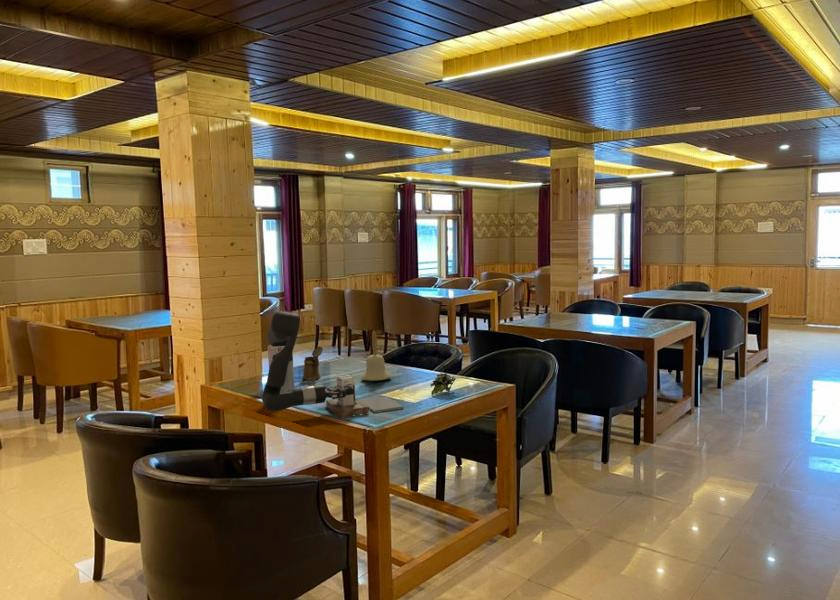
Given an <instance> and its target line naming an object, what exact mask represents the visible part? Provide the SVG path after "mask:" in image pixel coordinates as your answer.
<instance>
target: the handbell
mask: <svg viewBox="0 0 840 600" xmlns="http://www.w3.org/2000/svg"><path fill="white" fill-rule="evenodd" d="M371 346H372V347H371V348H372V353H373V354H371V355H369V356H367V358H366V359H365V360H366V362H365V364H366V369H365V371H364V372H363V373H362V375H360V378H361V379H362V380H363V381H371V382H373V381H383V380H388V379H390V378H391V377H392V375H391V373H390V372H389V371H388V370H387V369H386V367H385V359H384V357H383V355H381V354H378V353H377V352H378V338H377V332H376V331H372V335H371Z"/></svg>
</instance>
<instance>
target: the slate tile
mask: <svg viewBox="0 0 840 600" xmlns="http://www.w3.org/2000/svg"><path fill="white" fill-rule="evenodd" d="M358 400H359V401H360V402H362V403H363V404H365V405H366V406H368V410H369V409H370V410H371V412H372V411H373V412H378V413H382V411H384V412H389V411H390V410H391V411H397V410H402V408H403V409H404V405H402V404H400V403H399V402H396V401H395V400H393V399H391V398H390V397H389V396H378V397H372V398H364V399H358ZM396 409H397V410H396ZM370 410H369V411H370ZM373 412H372V413H373Z"/></svg>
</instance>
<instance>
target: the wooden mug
mask: <svg viewBox="0 0 840 600" xmlns="http://www.w3.org/2000/svg"><path fill="white" fill-rule="evenodd" d="M323 349H324V348H323V347H322V346H317V347H316V348H315V349H314V350H313V351H312V352H311V356H306V357H304V361H303V364H304V365H303V376H302V380H303V379H305V380H304V381H315V380H314V379H317V380H320V379H321V374H320V370H319V367H320V361H319V357H320V356H321V354H322V352H324V351H323ZM319 378H320V379H319Z"/></svg>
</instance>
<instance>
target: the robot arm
mask: <svg viewBox="0 0 840 600" xmlns="http://www.w3.org/2000/svg"><path fill="white" fill-rule="evenodd" d="M300 325H301V316H300V315H299V314H297V313H292V312H288V311H281V310H278V311H275V312H274V313H273V315H272V317H271V320H270V327H269V329H268V332H267V340H268V343H269V345H271V346H274V347H276V346H285V347H284V348H283V349H282V350H281V351H280V352H279V353H276V354H274V355H273V357H272V360H273V361H272V362H271V364H270V367H269V366H268V374H267V378H266V379H267V381H266V382H265V386H264V388H263V391H262V396H261V399H262V404H263V405H264V407H265V408H266V409H267V410H268V411H269V412H280V411H283V410H287V409H289V408H292V407H299V406H310V405H318V404H324V403H325V402H326V400H327V398H329V399H338V398H343V397H346V395H352V394H354V389H347V390H340V389H337V384H335V385H329V386H327V385H326V386H324V384H317V385H307V386H303V387H297V388H296V387H295V372H294V369H295V368H294V356H293V355H294V354H293V351H294V349H295V344H296V342H297V338H298V334H299V330H300V328H301V327H300ZM337 391H338V392H337ZM341 393H343V394H341Z"/></svg>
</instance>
